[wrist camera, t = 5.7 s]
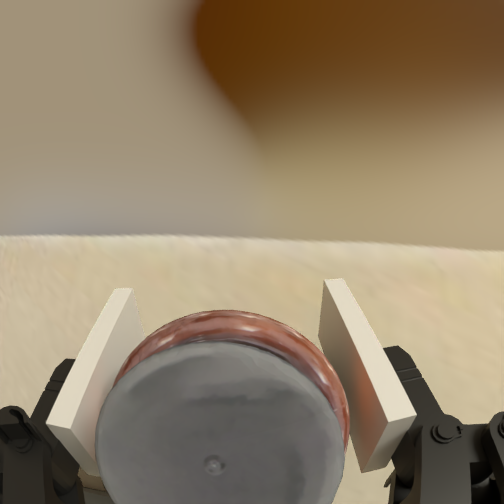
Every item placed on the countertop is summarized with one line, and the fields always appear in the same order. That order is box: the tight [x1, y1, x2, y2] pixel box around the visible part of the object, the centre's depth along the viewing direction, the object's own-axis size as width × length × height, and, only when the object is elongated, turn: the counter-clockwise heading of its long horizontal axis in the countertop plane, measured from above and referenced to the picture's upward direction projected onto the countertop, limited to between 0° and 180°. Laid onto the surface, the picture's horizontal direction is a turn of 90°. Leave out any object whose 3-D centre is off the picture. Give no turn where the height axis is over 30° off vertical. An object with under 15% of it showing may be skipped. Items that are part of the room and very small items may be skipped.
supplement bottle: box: [95, 310, 350, 504], centre depth 9 cm, size 6×6×11 cm
